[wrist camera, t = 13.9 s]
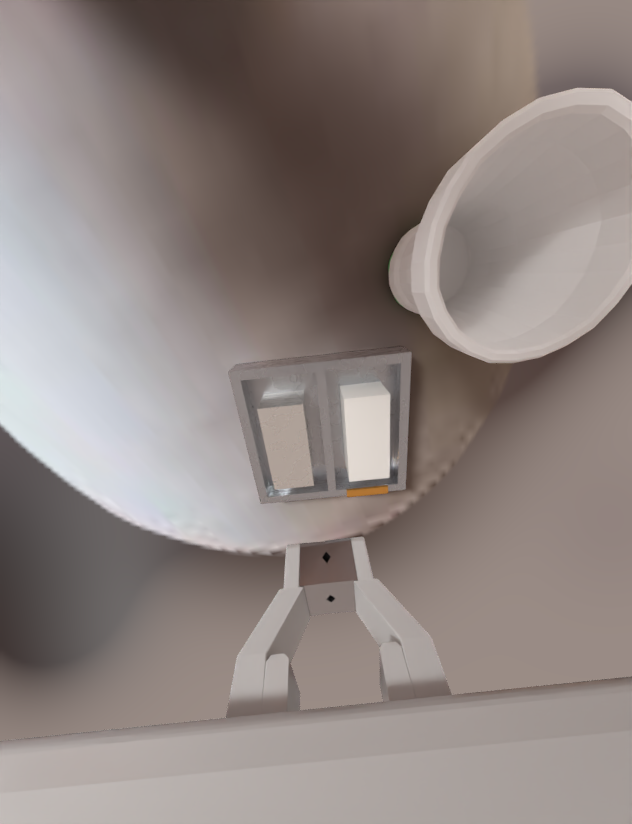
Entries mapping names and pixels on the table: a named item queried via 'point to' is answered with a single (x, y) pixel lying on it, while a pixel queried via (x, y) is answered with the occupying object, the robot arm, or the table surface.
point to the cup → (526, 231)
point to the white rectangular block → (366, 430)
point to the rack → (316, 421)
